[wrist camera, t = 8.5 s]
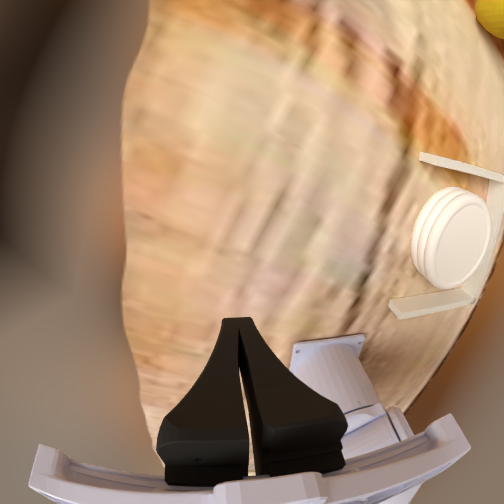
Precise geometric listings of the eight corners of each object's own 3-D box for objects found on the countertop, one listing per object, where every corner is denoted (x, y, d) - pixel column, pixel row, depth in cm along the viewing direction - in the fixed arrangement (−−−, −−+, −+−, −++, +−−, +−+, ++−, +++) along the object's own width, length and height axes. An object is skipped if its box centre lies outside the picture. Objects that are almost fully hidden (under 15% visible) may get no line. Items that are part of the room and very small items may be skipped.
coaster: (482, 217, 23) (502, 229, 20) (437, 287, 27) (455, 304, 23) (443, 164, 20) (469, 173, 17) (390, 250, 24) (411, 268, 20)
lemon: (491, 50, 14) (543, 50, 7) (462, 22, 13) (517, 14, 6) (490, 17, 12) (536, 14, 5) (460, -10, 11) (509, -21, 4)
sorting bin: (462, 292, 27) (474, 303, 25) (387, 305, 26) (399, 320, 24) (494, 171, 21) (509, 177, 19) (420, 151, 19) (438, 156, 17)
